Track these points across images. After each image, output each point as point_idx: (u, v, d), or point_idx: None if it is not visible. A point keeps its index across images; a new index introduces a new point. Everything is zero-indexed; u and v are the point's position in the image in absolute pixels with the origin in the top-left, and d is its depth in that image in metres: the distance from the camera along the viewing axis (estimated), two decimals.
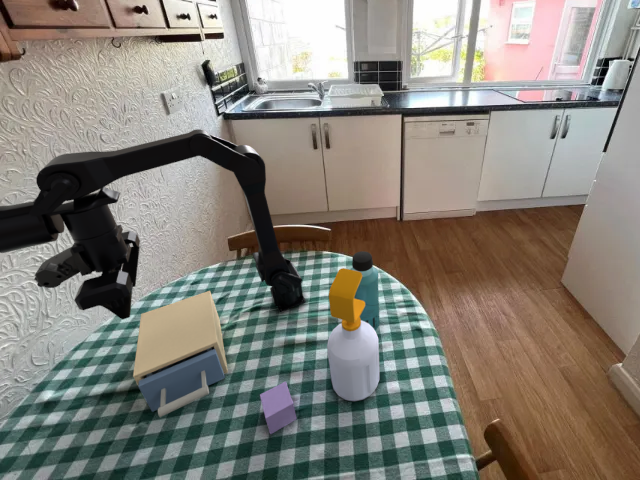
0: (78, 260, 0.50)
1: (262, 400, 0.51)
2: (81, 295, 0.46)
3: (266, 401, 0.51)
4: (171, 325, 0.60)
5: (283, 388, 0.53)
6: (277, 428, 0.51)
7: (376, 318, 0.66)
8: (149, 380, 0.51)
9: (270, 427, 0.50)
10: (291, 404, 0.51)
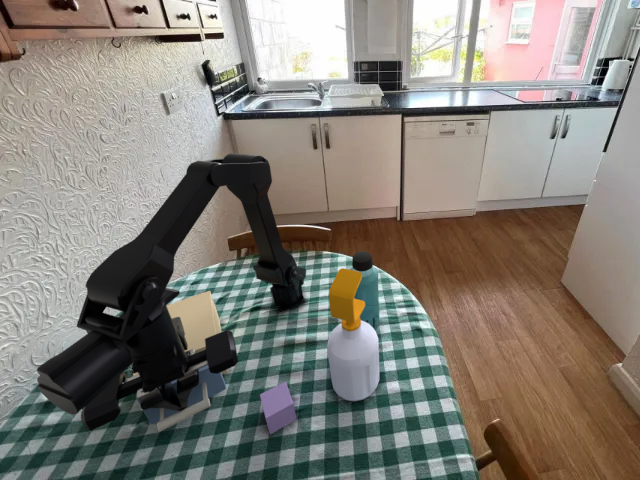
0: None
1: (262, 400, 0.51)
2: None
3: (266, 401, 0.51)
4: None
5: (283, 388, 0.53)
6: (277, 428, 0.51)
7: (376, 318, 0.66)
8: None
9: (270, 427, 0.50)
10: (291, 404, 0.51)
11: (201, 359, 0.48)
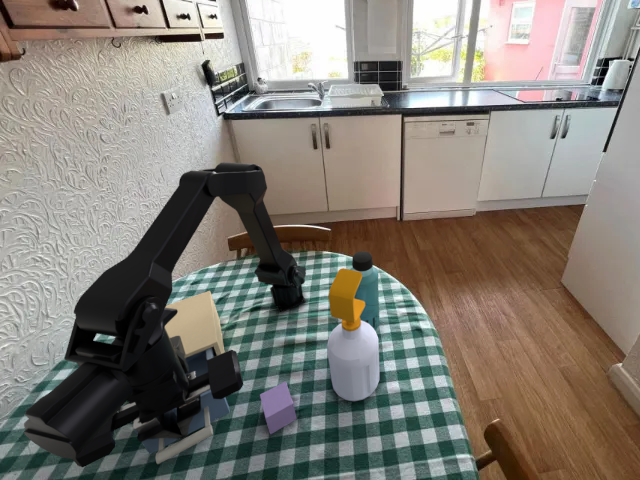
0: None
1: (262, 400, 0.51)
2: None
3: (266, 401, 0.51)
4: (171, 325, 0.60)
5: (283, 388, 0.53)
6: (277, 428, 0.51)
7: (376, 318, 0.66)
8: None
9: (270, 427, 0.50)
10: (291, 404, 0.51)
11: (203, 383, 0.45)
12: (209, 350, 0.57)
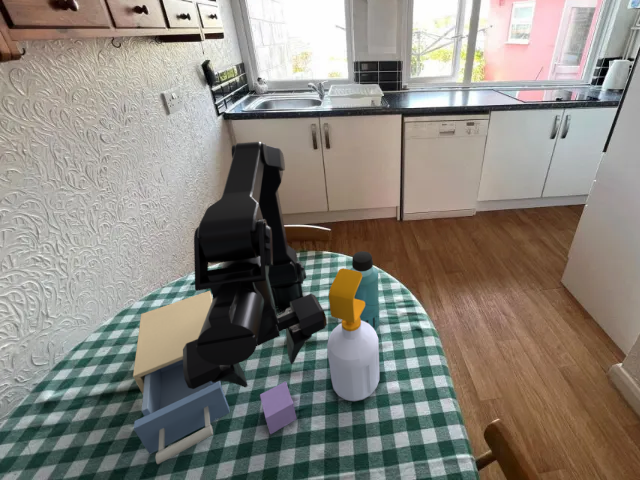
0: None
1: (262, 400, 0.51)
2: None
3: (266, 401, 0.51)
4: (171, 325, 0.60)
5: (283, 388, 0.53)
6: (277, 428, 0.51)
7: (376, 318, 0.66)
8: (146, 420, 0.46)
9: (270, 427, 0.50)
10: (291, 404, 0.51)
11: (290, 321, 0.47)
12: None
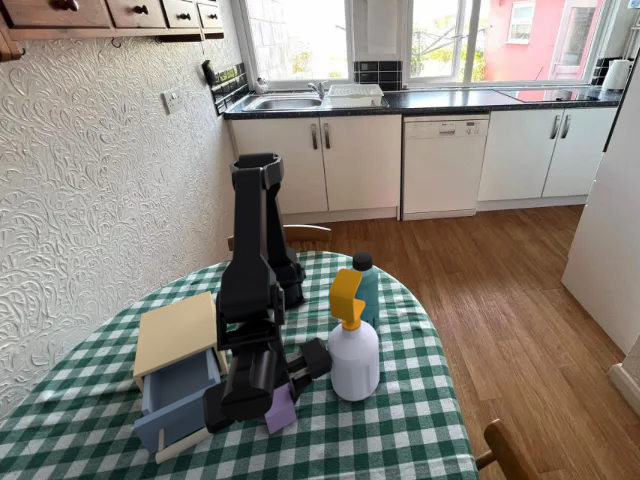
0: None
1: None
2: (204, 393, 0.46)
3: None
4: (171, 325, 0.60)
5: (283, 388, 0.53)
6: (277, 428, 0.51)
7: (376, 318, 0.66)
8: (146, 420, 0.46)
9: (269, 427, 0.50)
10: (291, 404, 0.51)
11: (299, 365, 0.51)
12: (209, 350, 0.57)
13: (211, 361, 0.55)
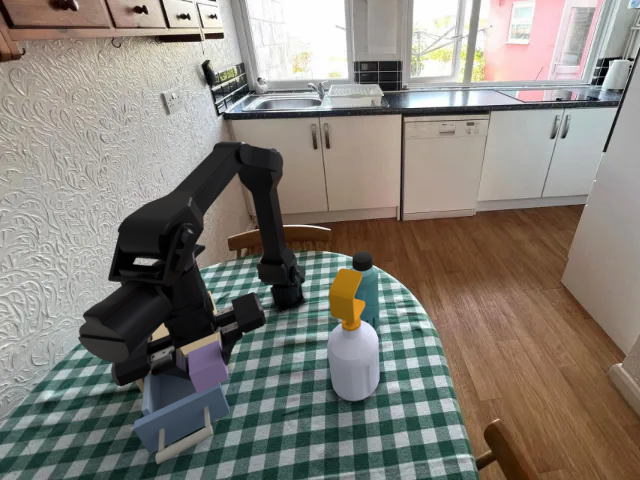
0: None
1: (189, 358, 0.48)
2: None
3: (193, 359, 0.47)
4: None
5: (214, 346, 0.49)
6: (205, 387, 0.47)
7: (376, 318, 0.66)
8: (146, 420, 0.46)
9: (196, 385, 0.46)
10: (220, 361, 0.47)
11: (229, 319, 0.47)
12: None
13: None
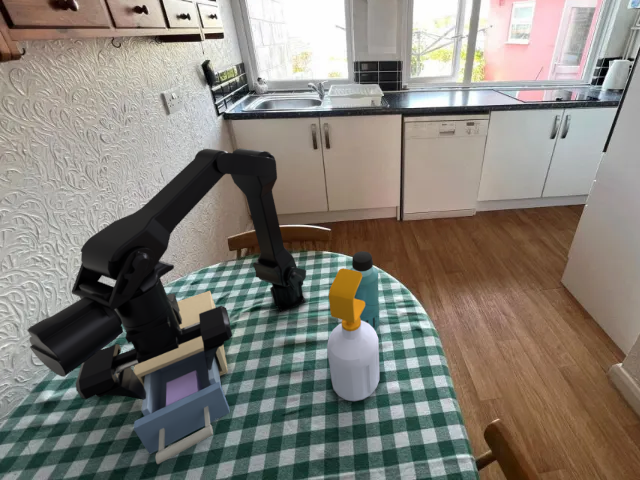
0: None
1: (167, 388, 0.51)
2: None
3: (170, 389, 0.51)
4: None
5: (191, 377, 0.53)
6: None
7: (376, 318, 0.66)
8: (146, 420, 0.46)
9: None
10: (195, 392, 0.51)
11: (195, 333, 0.49)
12: None
13: None
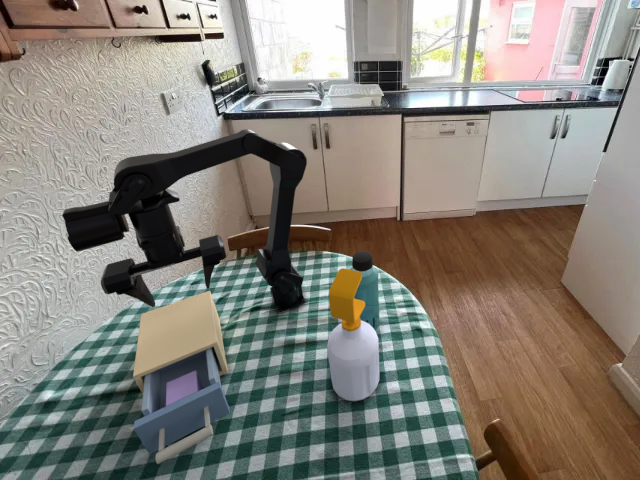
0: None
1: (167, 388, 0.51)
2: (106, 266, 0.55)
3: (170, 389, 0.51)
4: (171, 325, 0.60)
5: (191, 377, 0.53)
6: None
7: (376, 318, 0.66)
8: (146, 420, 0.46)
9: None
10: (195, 392, 0.51)
11: (196, 253, 0.59)
12: (209, 350, 0.57)
13: (211, 361, 0.55)
